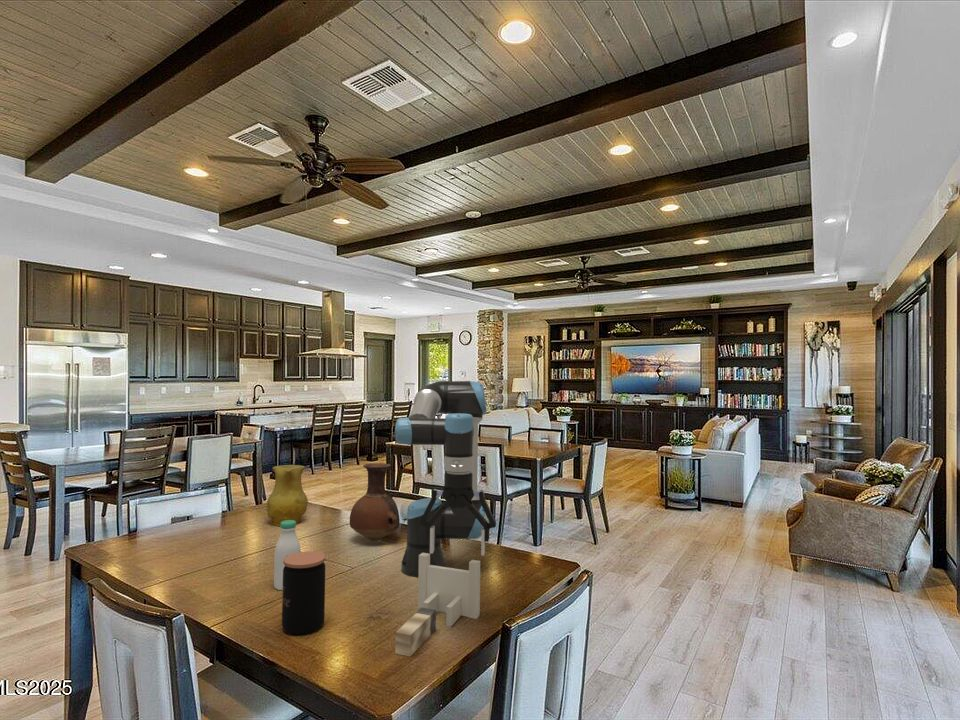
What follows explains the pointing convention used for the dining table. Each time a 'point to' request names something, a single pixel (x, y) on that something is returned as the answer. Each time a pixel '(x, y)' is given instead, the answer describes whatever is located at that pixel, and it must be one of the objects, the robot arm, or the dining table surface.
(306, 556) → the coffee jar
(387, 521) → the vase
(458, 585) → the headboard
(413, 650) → the beige wooden block
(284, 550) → the milk bottle
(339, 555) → the dining table surface
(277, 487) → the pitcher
